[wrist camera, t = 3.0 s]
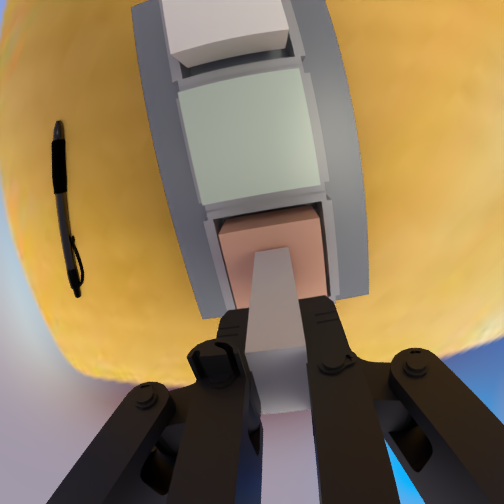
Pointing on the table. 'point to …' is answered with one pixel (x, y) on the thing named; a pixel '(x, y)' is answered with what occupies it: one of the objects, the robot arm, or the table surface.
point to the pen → (64, 210)
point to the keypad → (319, 197)
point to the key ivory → (223, 28)
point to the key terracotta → (273, 237)
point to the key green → (250, 136)
